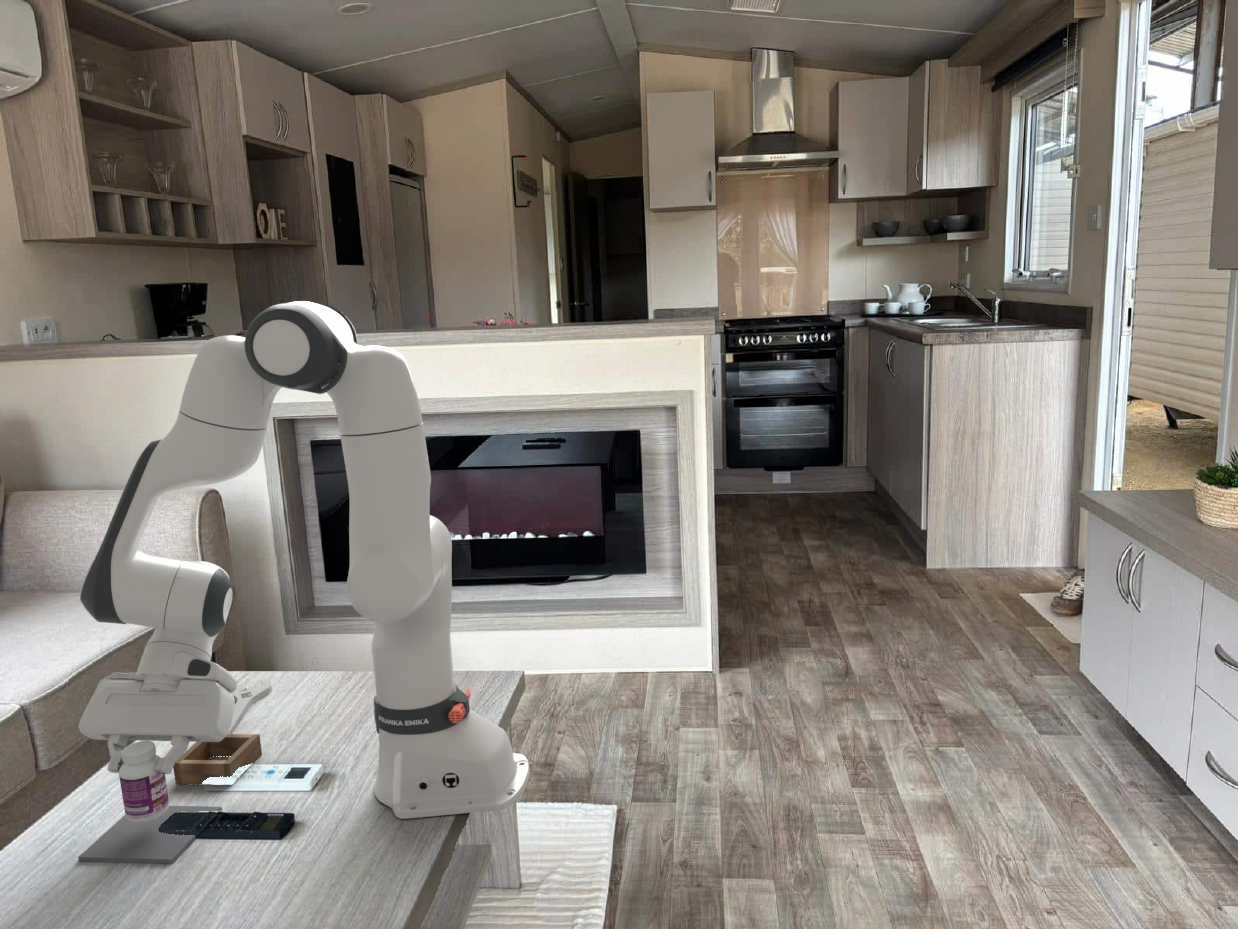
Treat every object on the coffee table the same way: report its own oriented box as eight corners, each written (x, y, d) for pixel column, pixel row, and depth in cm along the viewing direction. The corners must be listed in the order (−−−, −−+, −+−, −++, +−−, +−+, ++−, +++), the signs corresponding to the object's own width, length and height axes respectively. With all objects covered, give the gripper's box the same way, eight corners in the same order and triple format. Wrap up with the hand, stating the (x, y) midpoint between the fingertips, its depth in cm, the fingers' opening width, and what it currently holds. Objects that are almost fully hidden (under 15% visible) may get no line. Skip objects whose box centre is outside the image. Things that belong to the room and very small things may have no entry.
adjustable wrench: (221, 756, 145) (219, 746, 145) (180, 758, 145) (179, 748, 144) (276, 687, 169) (275, 678, 169) (242, 689, 169) (240, 680, 169)
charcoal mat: (222, 810, 128) (221, 806, 128) (172, 863, 117) (171, 859, 116) (136, 809, 130) (135, 805, 130) (78, 861, 118) (78, 857, 118)
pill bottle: (164, 821, 121) (154, 755, 119) (121, 827, 119) (110, 761, 117) (174, 799, 126) (164, 735, 124) (132, 805, 125) (122, 741, 123)
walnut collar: (262, 754, 144) (259, 734, 143) (232, 785, 135) (229, 764, 134) (208, 754, 145) (205, 734, 144) (175, 784, 136) (172, 763, 135)
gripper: (90, 664, 127) (51, 764, 119) (229, 665, 125) (198, 767, 117) (115, 680, 132) (80, 777, 124) (249, 681, 130) (221, 780, 122)
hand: (138, 772), depth 121 cm, fingers closed on pill bottle, 5 cm apart
